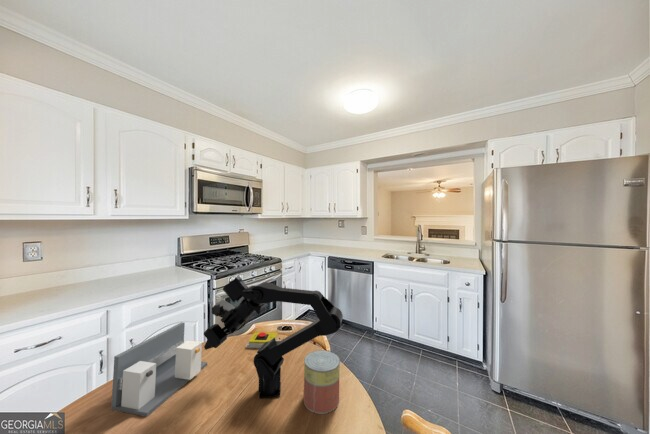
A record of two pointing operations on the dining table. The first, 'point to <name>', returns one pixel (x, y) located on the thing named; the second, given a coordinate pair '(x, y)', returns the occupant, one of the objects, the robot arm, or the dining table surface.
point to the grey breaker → (138, 385)
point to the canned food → (321, 381)
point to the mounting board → (164, 372)
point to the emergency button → (260, 339)
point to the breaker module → (188, 360)
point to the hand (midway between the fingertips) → (213, 342)
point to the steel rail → (159, 359)
